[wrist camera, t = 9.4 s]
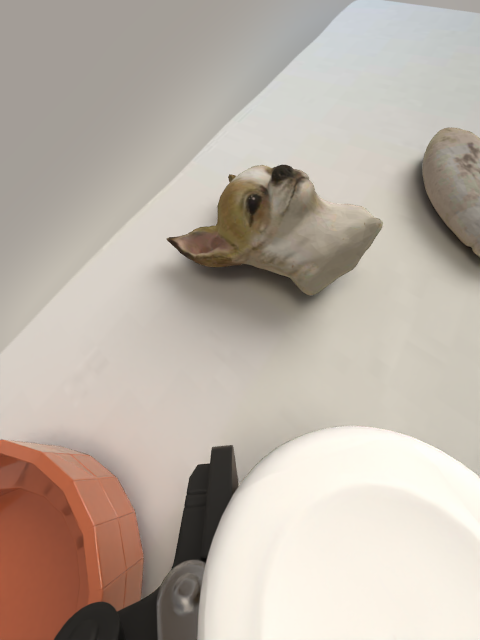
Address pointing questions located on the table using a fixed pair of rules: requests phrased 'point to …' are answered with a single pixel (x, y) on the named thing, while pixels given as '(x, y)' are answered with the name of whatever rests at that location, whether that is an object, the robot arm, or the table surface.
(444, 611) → the sprinkles bottle
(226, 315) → the table surface
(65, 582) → the bowl
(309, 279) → the ceramic sculpture
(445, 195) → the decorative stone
